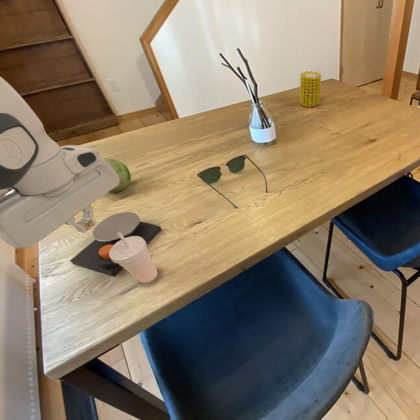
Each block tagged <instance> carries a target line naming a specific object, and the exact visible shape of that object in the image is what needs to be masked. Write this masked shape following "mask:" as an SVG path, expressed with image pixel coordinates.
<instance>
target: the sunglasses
mask: <svg viewBox="0 0 420 420" xmlns="http://www.w3.org/2000/svg"><path fill="white" fill-rule="evenodd" d="M246 159H247V160H248V161H250V163H251V164H252V165H254V166H255V168H256V169H257V170H258V171H259V172H260V173H261V174H262V176H263V177H264V183H265V193H266V194H268V183H267V178H266V176H265V173H264V172H263V171H262V170H261V168H260V167H259V166H257V164H256V163H255V162H254V161H253V160H252V159H251V158H250V157H249V156H248V155H246V154H242V155H239V156H235V157H233V158H232V159H229V160H228V161H227V162H226V163H224V164H221V165H220V166H212V167H208V168H206V169H204V170H202V171H200V172H198V173H197V174H196V177H198V178H199V179H201V181H203V182H204V183H205V184H207V185H208V186H209V187H210V188H212V190H214V191H216V193H218V194H219V195H221V196H222V197H223V198H224V199H225V200H227V201H228V202H229V203H230V204H231V205H232V206H233V207H234V208H236V209H238V208H239V207H238V206H237V205H235V204H234V203H233V202H232V201H230V200H229V199H228V198H227V197H226V196H225V195H224V194H222V193H221V192H220V191H219V190H218V189H216V188H215V187H214V186H212V185H213V184H215V183H217V182H219V181H220V180H221V178H222V177H223V173H222V171H221V170H222V167H224V166H226V167H227V168H228V171H229V172H230V173H233V174H238V173H240V172H242V171H243V170H244V169H245V166H246V161H247V160H246Z"/></svg>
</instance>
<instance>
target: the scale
mask: <svg viewBox="0 0 420 420" xmlns="http://www.w3.org/2000/svg"><path fill="white" fill-rule="evenodd" d="M162 230H163V229H162V227H161V225H157V224H153V223H149V222H145V221H141V220H140V224H139V226H138V228H137V229H136V230H135V231H134V232H133V233H132V234H130V235H129V236H127V237H131V236H139V237H141V238H143V239H144V241H145V242H146V244H147V245H149V244H150V243H151V241H152V240H154V239H155V237H156V236H157V235H159V234H160V233H161V232H162ZM127 237H125V238H127ZM118 241H120V240H118ZM118 241H115V242H110V243H102V242H99V241H97V240H96V239H95V238H94V240H93V241H92V242H90V243H89V244H88V245H86V247H84V248H83V249H82V250H80V251H79V253H77V254H76V255H75V256H73V257H72V258H71V259H70V260H69V262H71V264H72V265H75V266H78V267H81V268H85V269H88V270H90V271H94V272H97V273H100V274H103V275H107V276H110V277H113V278H115V277H116V276H117V275H118V274H119V273H120V272H121V271H122V270H123V269H124V268H123V267H122V266H121V265H120V264H118V263H115V262H113V261H112V260H111V259H108V260H105V259H103V258H102V257H101V255H100V254H99V250H100V249H101V248H102V247H104V246H106V245H115V244H116V243H117V242H118Z"/></svg>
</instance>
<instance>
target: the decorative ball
mask: <svg viewBox="0 0 420 420" xmlns="http://www.w3.org/2000/svg"><path fill="white" fill-rule="evenodd" d="M103 159H104V160H106V161H107V162H108V163H109V164H110V165H111V166H112V168H113V169H114V170H115V172H116V173H117V174H118V176H119V178H120V181H119V185H118V186H116V187H115V188H113V189H112V190H110V191H109V192H108V193H116V192H121V191H123V190H125V189H126V188H127V187H129V185H130V182H131V180H132V179H131V172H130V169H129V168H128V166H126V164H124V163H123V162H122V161H120V160H118V159H115V158H110V157H109V158H103Z"/></svg>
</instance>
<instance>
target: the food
mask: <svg viewBox="0 0 420 420" xmlns="http://www.w3.org/2000/svg"><path fill="white" fill-rule="evenodd" d="M299 77H300V78H299V79H300V80H299V86H300V87H299V88H300V89H299V102H300V105H301V106H303V107H305V108H312V107H315V106H318V105H320V103H321V102H320V101H321V92H322V91H321V88H322V83H321V82H322V75H321V73H320V72H319V71H318V72H316V71H313V70H309V71H308V70H307V71H305V72H301V73H300V75H299Z"/></svg>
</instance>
